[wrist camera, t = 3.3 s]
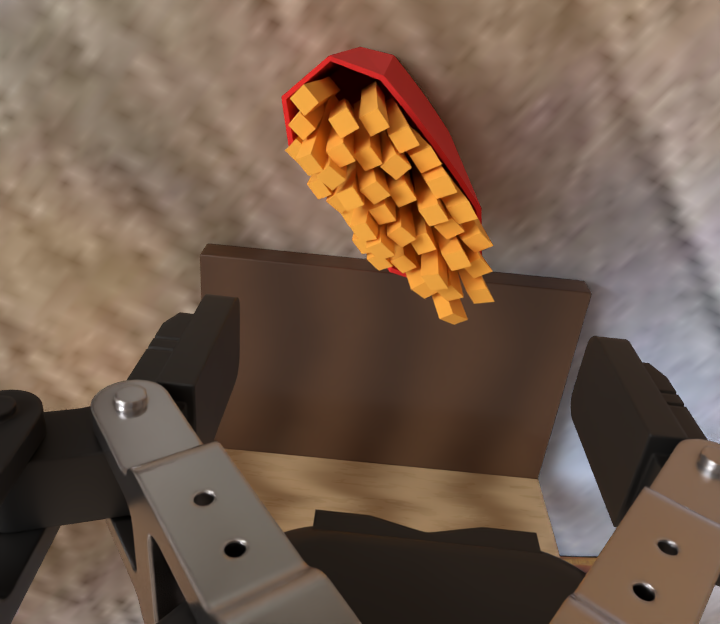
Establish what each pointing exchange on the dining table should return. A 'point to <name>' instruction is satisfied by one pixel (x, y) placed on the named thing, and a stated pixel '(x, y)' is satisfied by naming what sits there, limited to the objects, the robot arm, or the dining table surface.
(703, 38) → the dining table surface
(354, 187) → the french fries
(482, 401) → the wooden display stand
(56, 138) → the dining table surface
